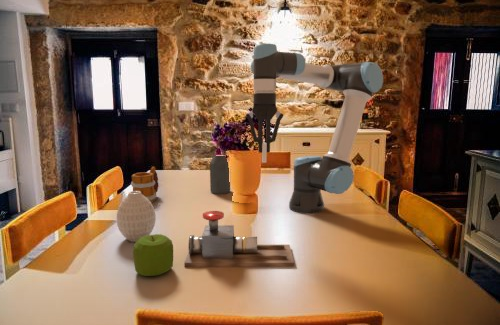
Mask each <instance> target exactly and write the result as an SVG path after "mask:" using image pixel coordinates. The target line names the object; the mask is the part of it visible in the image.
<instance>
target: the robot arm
mask: <svg viewBox="0 0 500 325" xmlns="http://www.w3.org/2000/svg"><path fill="white" fill-rule="evenodd" d="M277 47H278V46H277V45H276V44H275V43H259V44H258V43H257V44H256V45H255V46H254V48H253V58H252V61H251V63H250V71H251V73H252V74H253V89H252V90H253V92H255V93H253V96H252V97H253V98H252V99H253V102H252V103H253V106H252V108H251V111H248V113H245V117H246V118H247V120H248V123H249V127H250V130H251V135H252V139H253V142H255V143H257V144H258V152H259V153H260V154H261V162H262V163H263V164H264V163H267V161H268V160H267V158H268V157H267V155H268V153H270V151H271V143H274V142H276V139H277V136H278V131H279V127H280V123H281V121H282V119H283V117H284V116H285V115H284V113H281V112H279V111H278V108H277V94H276V93H275V92H276V91H277V79H281V80H288V81H293V82H294V81H295V82H301V83H307V84H312V85H318V86H319V87H320V88H322V89H328V90H333V91H336V92H341V93H342V94H343V95H344V100H343V103H342V107H341V109H340V112H339V115H338V119H337V123H336V126H335V129H334V131H333V135H332V138H331V142H330V145H329V148H328V152H326V153H325V154H323V155H322V156H320V155H308V156H307V155H306V156H297V157H296V158H295V159H294V163H293V164H294V165H293V192H292V194H291V198H290V200H289V204H288V208H289V210H291V211H293V212H294V213H295V212H296V213H300V214H318V213H321V212H323V211H324V210H325V203H324V200H323V199H324V198H323V195H322V192H321V191H324V192H327V193H329V194H335V195H342V194H344V193H345V192H347V191H348V190H349V189H350V188H351V186H352V184H353V181H354V177H355V176H354V170H353V169H352V168H351V166H352V162H351V160H350V156H351V152H352V151H353V150H352V149H353V147H354V142H355V140H356V137H357V133H358V130H359V127H360V124H361V121H362V117H363V114H364V111H365V108H366V104H367V102H370V101H371V100H372V98H373V95H374V93H377V92H379V91H380V90H381V89H382V88H383V84H384V75H383V72H382V68H381V67H380V66H379V64H377V63H376V62H373V61H372V62H371V61H370V62H368V61H364V62H354V63H342V64H323V65H318V64H313V63H307V62H306V57H305V56H304V55H303V54H301V53H297V52H295V51H294V52H289V51H287V52H286V51H278V50H277ZM254 116H255V117H256V119H257V120H258V138H257V133H256V130H255V125H254V121H253V118H254ZM274 117H275V118H276V120H275V123H274V127H273V130H272V136H271V120H272V119H273V118H274ZM264 121H265V125H266V127H265V128H266V131H265V132H266V133H265V140H266V141H265V142H263V126H264V124H263V123H264Z"/></svg>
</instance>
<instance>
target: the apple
mask: <svg viewBox="0 0 500 325" xmlns="http://www.w3.org/2000/svg"><path fill="white" fill-rule="evenodd" d="M132 256H133V264H134V271H135V272H136V273H137V275H141V276H145V277H157V276H160V275H163V274H164V273H166V272H168V271H169V270H171V269H172V268H173V266H174V245H173V241H172V239H170V238H169V237H167V235H164V234H161V233H160V234H157V233H156V234H150V235H148V236H144V237H141V238H140V239H139V240H138V241H137V242H134V245H133V251H132Z"/></svg>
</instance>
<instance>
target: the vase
mask: <svg viewBox="0 0 500 325" xmlns="http://www.w3.org/2000/svg"><path fill="white" fill-rule="evenodd" d="M152 203H153V202H152ZM152 203H151V202H150V201H149V199H147V198H146V197H145V196H144V195H142V193H141V192H140V191H133V190H132V191H130V192H128V194H127V195H126V196H125V197H124V199H123V200H122V202H120V204H119V206H118V208H117V211H116V212H117V213H116V226H117V228H118V231H119V232H120V233H121V235H122V236H123V238H125V239H126V240H127V241H129V242H132V243H136V242H137V241H138V240H139V239H140V238H141V237H144V236H148V235H152V232H153V230H154V227H155V226H156V220H157V218H156V211H155V207H154V206H153V204H152Z"/></svg>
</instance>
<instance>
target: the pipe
mask: <svg viewBox="0 0 500 325" xmlns="http://www.w3.org/2000/svg"><path fill="white" fill-rule="evenodd" d="M257 245H258V236H234V237H233V253H257Z"/></svg>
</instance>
